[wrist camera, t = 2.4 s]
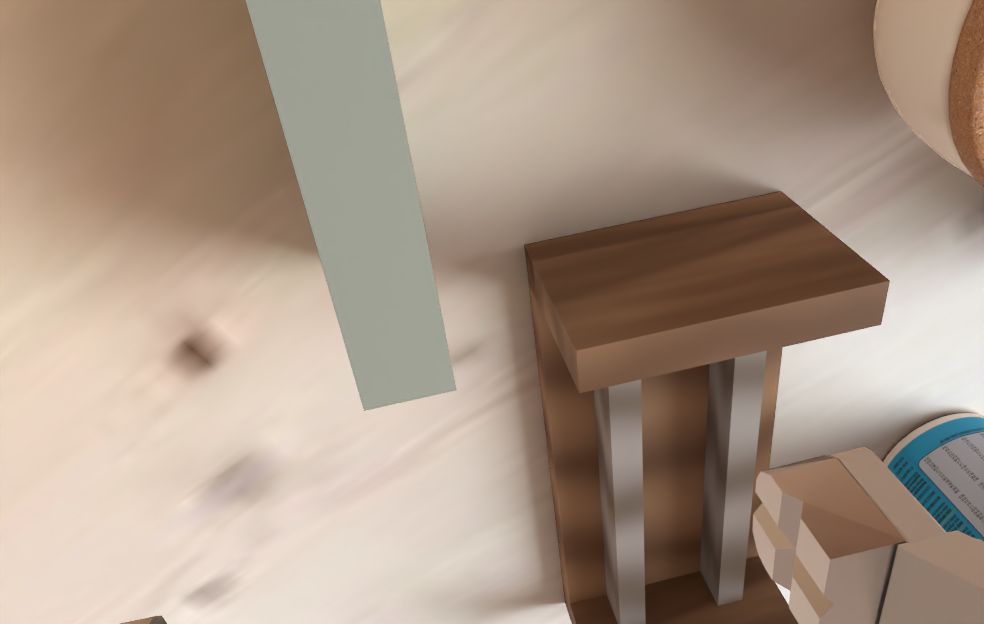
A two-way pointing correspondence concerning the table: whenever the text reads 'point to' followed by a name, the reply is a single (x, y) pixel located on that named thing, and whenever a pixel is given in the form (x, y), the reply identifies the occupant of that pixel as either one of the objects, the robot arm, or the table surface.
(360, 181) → the grey-green rectangular block
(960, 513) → the beverage bottle
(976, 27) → the lidded bowl
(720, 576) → the door track
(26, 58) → the table surface
